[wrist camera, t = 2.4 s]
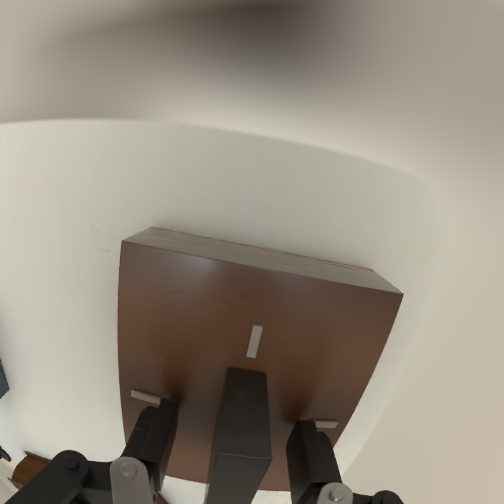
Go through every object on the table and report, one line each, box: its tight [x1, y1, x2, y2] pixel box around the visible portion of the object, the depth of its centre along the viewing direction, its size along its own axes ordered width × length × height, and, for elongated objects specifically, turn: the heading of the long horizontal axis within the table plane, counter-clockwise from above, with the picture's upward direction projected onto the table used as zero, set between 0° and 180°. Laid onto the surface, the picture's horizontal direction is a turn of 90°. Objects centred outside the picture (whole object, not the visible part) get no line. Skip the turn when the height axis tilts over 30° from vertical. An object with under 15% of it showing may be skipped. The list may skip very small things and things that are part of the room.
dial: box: [204, 368, 273, 504], centre depth 9 cm, size 6×2×5 cm, turn 169°
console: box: [118, 227, 404, 491], centre depth 13 cm, size 14×11×4 cm
